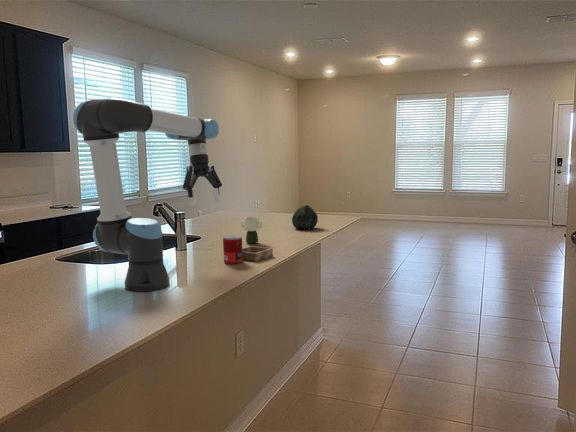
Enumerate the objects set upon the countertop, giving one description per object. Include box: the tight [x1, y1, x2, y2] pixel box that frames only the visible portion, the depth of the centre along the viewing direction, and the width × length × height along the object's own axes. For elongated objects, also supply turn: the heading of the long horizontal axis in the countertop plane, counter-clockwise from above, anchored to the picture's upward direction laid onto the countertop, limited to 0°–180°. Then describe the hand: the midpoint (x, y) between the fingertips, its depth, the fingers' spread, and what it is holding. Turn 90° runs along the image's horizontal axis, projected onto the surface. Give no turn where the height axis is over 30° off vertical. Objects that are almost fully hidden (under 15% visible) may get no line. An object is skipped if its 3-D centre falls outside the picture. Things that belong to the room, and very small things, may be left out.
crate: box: [242, 245, 274, 263], centre depth 216 cm, size 12×12×4 cm
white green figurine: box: [240, 216, 263, 244], centre depth 249 cm, size 11×7×13 cm, turn 73°
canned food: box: [222, 234, 244, 265], centre depth 207 cm, size 8×8×11 cm
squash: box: [291, 204, 319, 230], centre depth 291 cm, size 14×15×15 cm
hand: (205, 204), depth 211 cm, fingers open, 13 cm apart
